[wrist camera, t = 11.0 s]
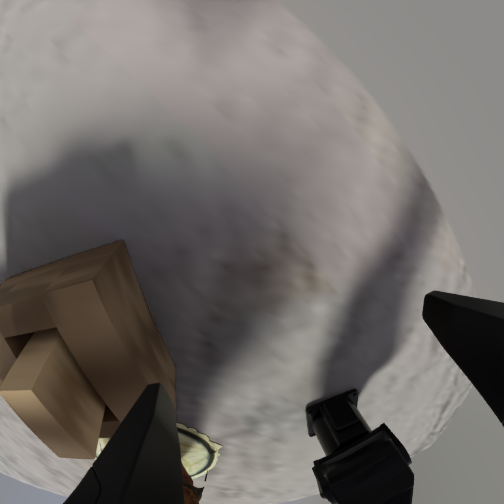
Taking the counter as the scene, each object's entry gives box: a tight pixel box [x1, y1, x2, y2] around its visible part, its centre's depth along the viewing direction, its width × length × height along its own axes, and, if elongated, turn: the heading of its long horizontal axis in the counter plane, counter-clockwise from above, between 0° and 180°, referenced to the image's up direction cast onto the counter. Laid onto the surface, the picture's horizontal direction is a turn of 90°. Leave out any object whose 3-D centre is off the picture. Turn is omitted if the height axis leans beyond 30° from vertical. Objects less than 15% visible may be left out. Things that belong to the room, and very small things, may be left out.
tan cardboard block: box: [0, 327, 106, 459], centre depth 13 cm, size 6×4×8 cm, turn 12°
